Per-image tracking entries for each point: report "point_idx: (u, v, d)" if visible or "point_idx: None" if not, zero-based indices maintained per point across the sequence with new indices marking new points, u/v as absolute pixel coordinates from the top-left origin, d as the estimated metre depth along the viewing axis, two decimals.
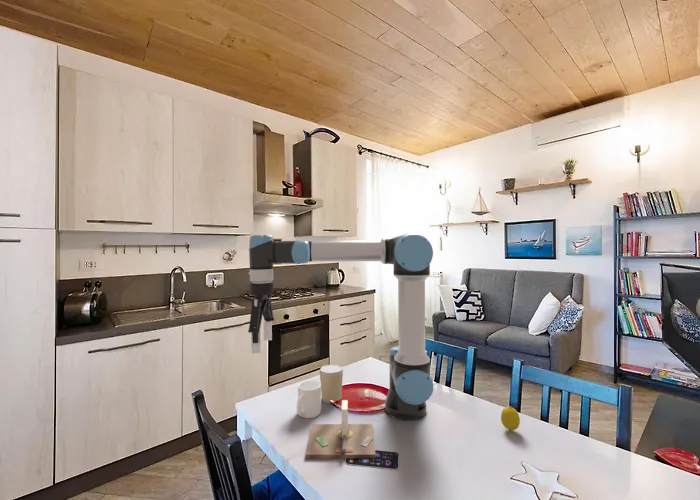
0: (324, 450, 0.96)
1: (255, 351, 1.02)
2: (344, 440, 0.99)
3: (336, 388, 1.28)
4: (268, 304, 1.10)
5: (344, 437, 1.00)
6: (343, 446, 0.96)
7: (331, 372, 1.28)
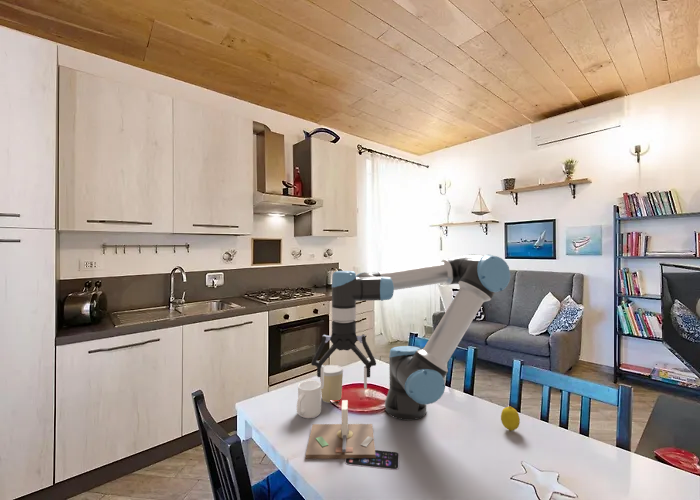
0: (324, 450, 0.96)
1: None
2: (344, 440, 0.99)
3: (336, 388, 1.28)
4: (349, 346, 1.02)
5: (344, 437, 1.00)
6: (343, 446, 0.96)
7: (331, 372, 1.28)
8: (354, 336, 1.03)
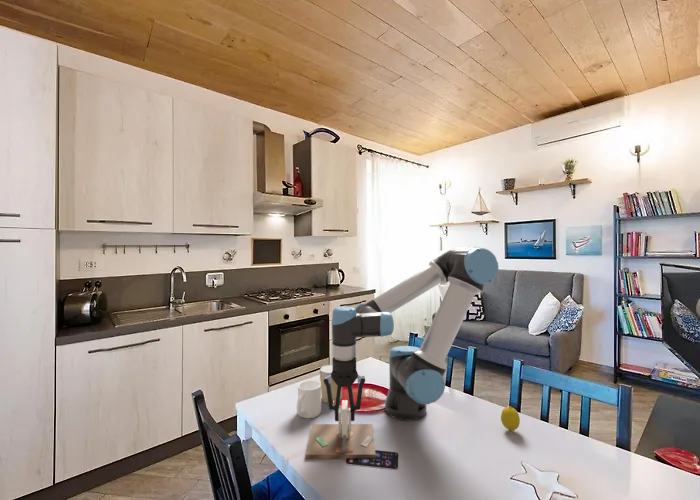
0: (324, 450, 0.96)
1: None
2: (344, 440, 0.99)
3: (336, 388, 1.28)
4: (347, 383, 1.02)
5: (344, 437, 1.00)
6: (343, 446, 0.96)
7: (331, 372, 1.28)
8: (356, 374, 1.03)
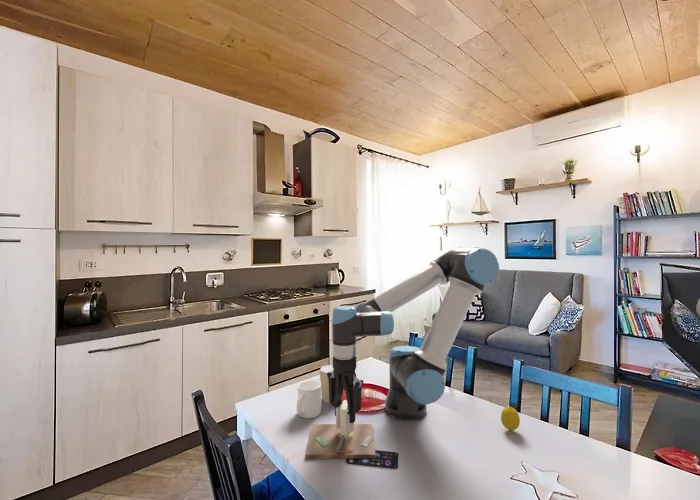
0: (324, 450, 0.96)
1: None
2: (341, 440, 0.99)
3: None
4: (343, 383, 1.02)
5: (342, 437, 1.00)
6: (338, 446, 0.96)
7: None
8: (351, 376, 1.01)
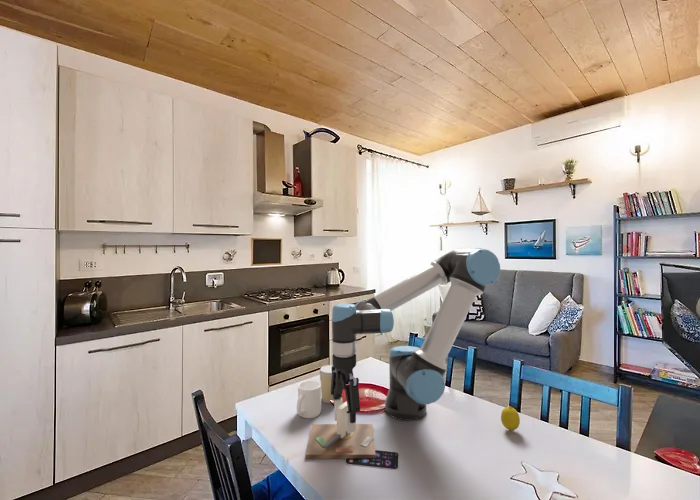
0: (324, 450, 0.96)
1: None
2: (334, 438, 1.00)
3: None
4: (341, 381, 1.02)
5: (336, 436, 1.01)
6: (327, 443, 0.97)
7: (331, 372, 1.28)
8: (347, 373, 1.00)
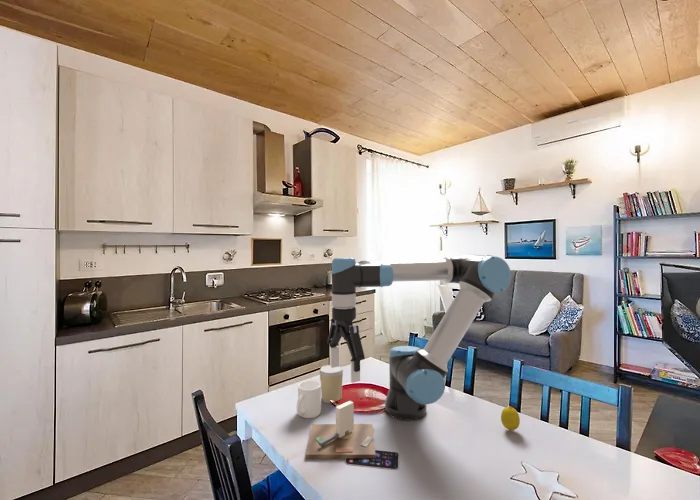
0: (324, 450, 0.96)
1: None
2: (331, 437, 1.00)
3: (336, 388, 1.28)
4: (342, 333, 1.01)
5: (334, 435, 1.02)
6: (323, 440, 0.99)
7: (331, 372, 1.28)
8: (346, 324, 1.00)
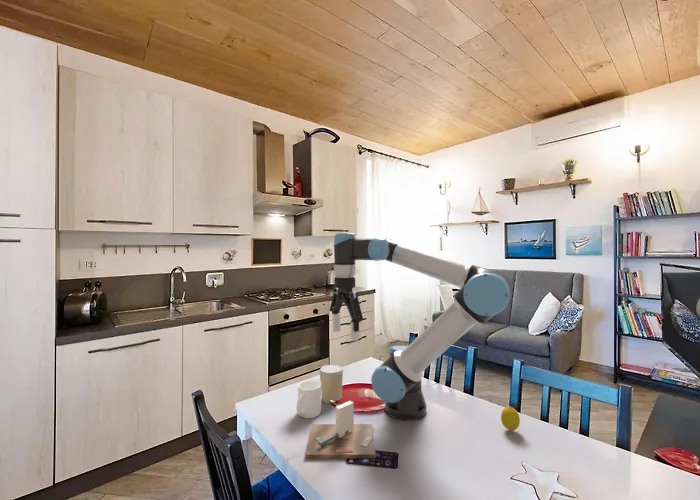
0: (324, 450, 0.96)
1: None
2: (330, 436, 1.01)
3: (336, 388, 1.28)
4: (343, 299, 1.15)
5: (334, 434, 1.02)
6: (322, 440, 0.99)
7: (331, 372, 1.28)
8: (347, 291, 1.14)
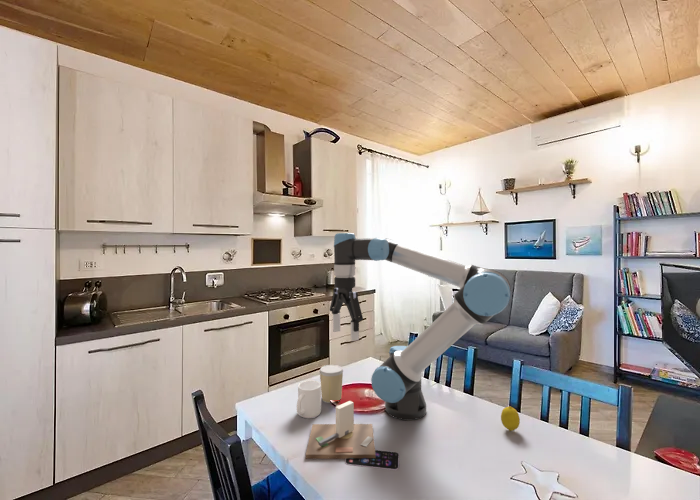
0: (324, 450, 0.96)
1: None
2: (330, 436, 1.01)
3: (336, 388, 1.28)
4: (343, 299, 1.15)
5: (334, 434, 1.02)
6: (322, 440, 0.99)
7: (331, 372, 1.28)
8: (346, 291, 1.14)
